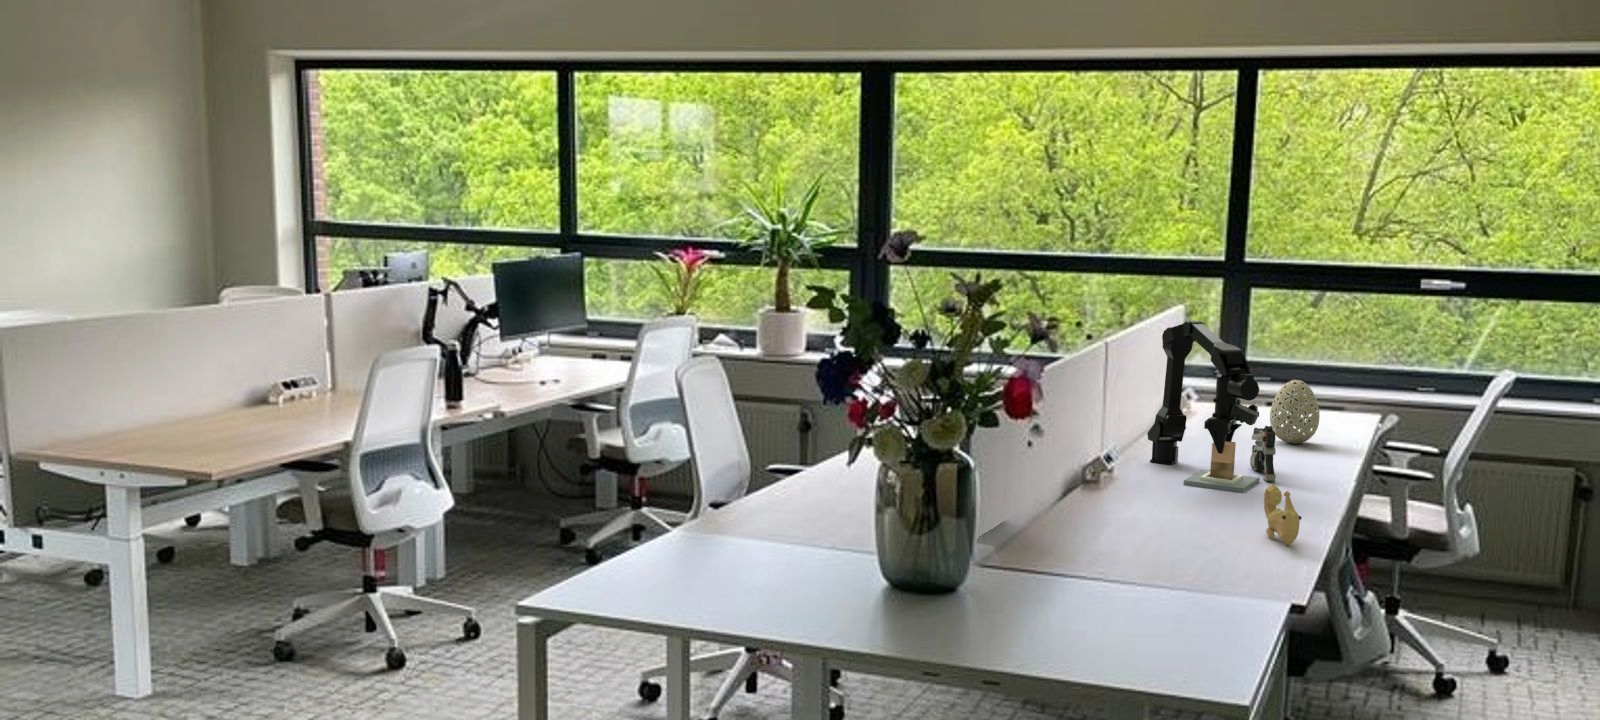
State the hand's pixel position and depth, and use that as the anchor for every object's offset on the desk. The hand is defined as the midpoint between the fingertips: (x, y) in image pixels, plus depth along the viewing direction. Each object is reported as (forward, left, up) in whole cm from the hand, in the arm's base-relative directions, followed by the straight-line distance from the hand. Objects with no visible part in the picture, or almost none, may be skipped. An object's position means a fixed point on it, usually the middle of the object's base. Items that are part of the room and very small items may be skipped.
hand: (1223, 451), depth 387 cm
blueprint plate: (0, 0, -9) cm, 9 cm away
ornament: (+2, +73, -9) cm, 74 cm away
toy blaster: (+6, +19, -9) cm, 22 cm away
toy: (+28, -53, -9) cm, 61 cm away
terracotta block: (0, 0, -2) cm, 2 cm away
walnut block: (0, 0, -8) cm, 8 cm away
